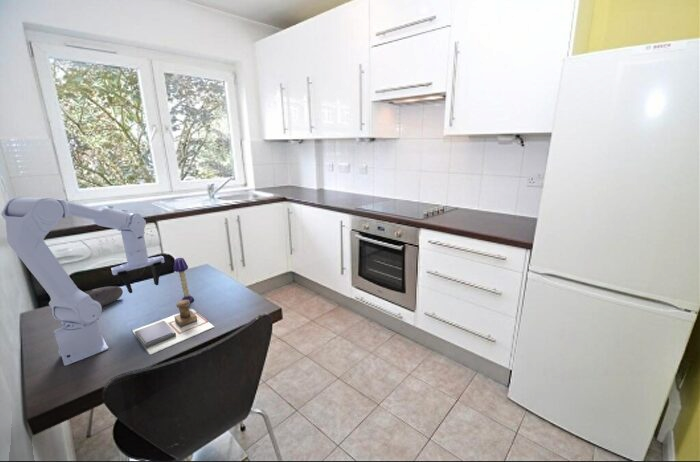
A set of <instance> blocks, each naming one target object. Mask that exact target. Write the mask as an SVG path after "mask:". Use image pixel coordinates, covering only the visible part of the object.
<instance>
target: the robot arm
mask: <svg viewBox="0 0 700 462" xmlns="http://www.w3.org/2000/svg"><path fill="white" fill-rule="evenodd" d="M0 215H1V217H2V218H3V219H4V221H5V228H6V229H5V230H6V240H7V244H8V245H9V246H10V248H11V249H12V250H13V251H14V253H15V254H16V256H17V257H18V258H19V259H20V260H21V261H22V263H23V264H24V265H25V267H26V268H27V269H28V270H29V272H30V273H31V274H32V275H33V276H34V278H35V279H36V281H37V282H38V283H39V284H40V285H41V286H42V288H43V289H44V291H46V293H47V294H48V296H49V297H50V301H49V302H48V305H49V306H50V308H51V311H52V313H51V314H52V317H53V319H54V320H56V321H60V323H61V325H62V326H61V327H59V328H57V329H54V331H53V333H54V336H55V339H56V343H57V347H58V350H57V352H58V355H59V357H61V360H62V363H63V365H64V366H69V365H71V364H73V363H76V362H79V361H82V360H84V359H86V358H90V357H92V356H94V355H98V354H99V353H102V352H105V351H107V350H109V346H108V345H107V343H106V341H105V339H104V337H103V335H102V331H101V327H100V323H99V319H100V317H101V314H102V311H103V309H102V308H103V306H102V307H101V304H100V303H99V302H97V301H95V300H93V299H92V298H91V297H90V296H89V295H88V294H86V293H84V292H85V291H82V290H81V289H80V288H78V286H77V285H76V284H75V283H74V281H73V279H72V278H71V277H70V275H69V274H68V273H67V271H66V269H65V268H64V267H63V265H62V264H61V263H60V261H59V259H58V258H57V257H56V255H55V253H53V252H52V250H51V248H49V246H48V245H47V243H46V242H45V241H44V239H45V238H46V236H47V235H48V234H49V232H51V231H52V229H54V228H55V226H56V225H57V224H58V223H59V222H60V221H61V219H64V218H68V217H76V218H80V219H86V220H87V219H88V220H91V221H93V223H94V224H95V225H97V226H98V227H105V228H110V229H115V230H117V231H120V234H121V238H122V242H123V248H124V253H125V256H126V263H123V264H121V265H117V266H113V267H111V268H110V269H111V274H112V275H113V276H116V275H117V276H118V277H119V279H120V280H121V281H122V282H123V284H124V285H125V287H126V289H127V292H128V293H129V294H132V293H133V292H134V291H133V288H132V284H131V279H130V275H129V271H133V270H138V269H141V268H145V267H149V266H150V269H151V272H152V277H153V283H154V285H155V286H159V285H160V283H159V281H160V276H161V275H160V274H161V272H162V269H163V264H164V263H165V257H164V256H162V255H159V256H155V257H149V256H148V250H147V246H146V245H147V244H146V240H145V228H146V226H147V222H146V221H147V220H146V219H145V218H144V217H143V216H142V215H141V214H140V213H131V212H128V210H126V209H121V210H120V209H117V208H114V205H109V204H107V205H105V206H104V205H102V206H100V207H99V206H98V208H94V207H92V206H87V205H84V204H80V203H78V202H77V203H76V202H74V201H71V200H67V199H60V198H54V197H53V198H52V197H28V196H16V197H13V198H11V199H9V200H8V201H7V202H6V204H5V205H4V208H3V209H2V210H1V213H0Z"/></svg>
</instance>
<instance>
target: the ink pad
mask: <svg viewBox="0 0 700 462" xmlns="http://www.w3.org/2000/svg"><path fill="white" fill-rule="evenodd" d="M135 335H136V336H137V337H136V336H135ZM134 336H135V337H136V339H139V340H140V341H139V340H138V341H139V342H140V343H142V344H143V345H142V344H141V345H142V347H143V348H144V347H145V348H146V349H147V348H149V347H152V346H154V345H156V344H159V343H161V342H164V341H166V340H168V339H171V338H173V337H176V333H175V332H174V331H173V330H172V329H171V328H170V327H169V326H168V324H167V323H166V322H165V321H162V322H159V323H156V324H154V325H151V326H148V327H145V328H143V329H140V330H137V331H135V334H134ZM145 348H144V349H145ZM146 349H145V350H146Z"/></svg>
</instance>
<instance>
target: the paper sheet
mask: <svg viewBox="0 0 700 462" xmlns="http://www.w3.org/2000/svg"><path fill="white" fill-rule="evenodd" d="M190 310H191V311H192V312H193V313H194V314H195V315H196V316H197V322H194V323H192V324H189V325H187V326H184V327H182V328H181V327H180V326H179V325H178V324H177V323H176V322H175V317H174V316H177V315H179V314H180V312H179V313H175V314H173V315H170V316H169V317H165V318H163V319H160V320H157V321H155V322H152V323H149V324H147V325H143V326H141V327H138V328H135V329H134V330H132V331H131V332H132V333H133V334H134V336H135V337H136V338H137V336H136V335H135V331H137V330H140V329H143V328H145V327H148V326H151V325H154V324H156V323H159V322H162V321H165V322H166V323H167V324H168V326H169V327H170V328H171V329H172V330H173V331H174V332H175V333H176V337H173V338H171V339H168V340H166V341H164V342H161V343H159V344H156V345H154V346H152V347H149V348H147V349H146V348H145V347H144V346H143V344H142V343H141V342H140V340H139V339H138V338H137V339H138V341H139V342H140V343H141V345H142V346H143V348H144V349H145V350H146V352H147V353H148V355H149V356H151V355H153V354H156V353H159V352H160V351H162V350H165V349H167V348H170V347H172V346H174V345H177V344H179V343H181V342H184V341H185V340H188V339H191V338H193V337H195V336H198V335H200V334H202V333H204V332H207V331H209V330H212V329H214V328H215V326H214V325H213V324H212V323H211V322H210V321H208V319H206V318H205V317H203V316H202V315H201V314H200V313H199V312H198V311H196V310H195V309H193V308H189V311H190Z"/></svg>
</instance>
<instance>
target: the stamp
mask: <svg viewBox="0 0 700 462" xmlns="http://www.w3.org/2000/svg"><path fill="white" fill-rule="evenodd" d="M190 304H191V303H190V301H189V300H182V299H181V300H179V301H177V302H176V305H175V306H176V307H177V308H178V311H179V313H180V314H179V315H177V316H174V317H175V322H176V323H177V324H178V325H179V326H180V327H181V328H182V327H184V326H187V325H189V324H192V323H194V322H197V316H196V315H195V314H194V313H193V312H192V311H191V310H190V311H189V309H190Z"/></svg>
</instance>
